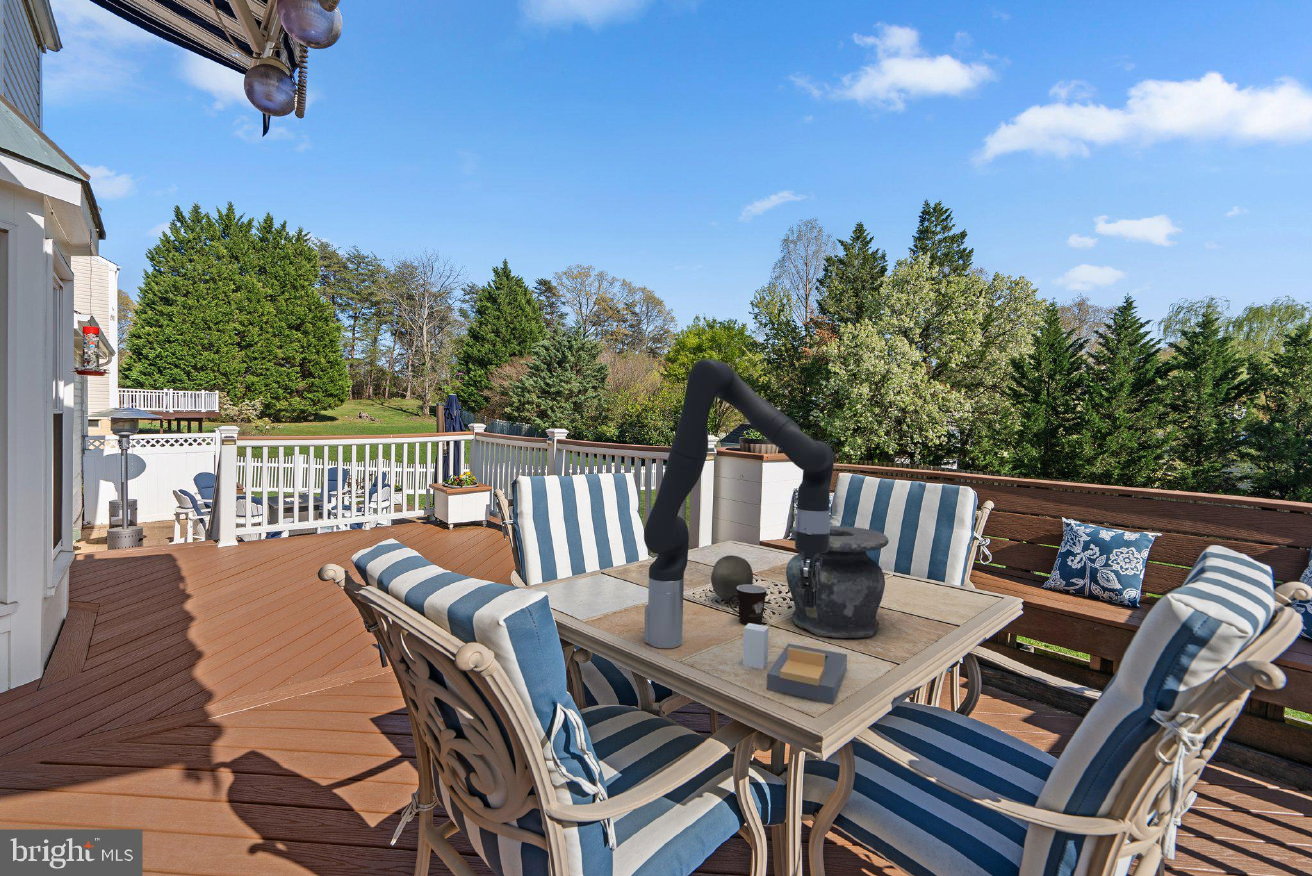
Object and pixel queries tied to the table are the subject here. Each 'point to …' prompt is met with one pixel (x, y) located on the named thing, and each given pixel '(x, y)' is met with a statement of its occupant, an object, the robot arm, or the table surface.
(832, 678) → the socket plate
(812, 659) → the tan l-shaped block
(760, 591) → the coffee mug
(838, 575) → the clay pot
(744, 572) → the grey stone ball
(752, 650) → the plug
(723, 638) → the table surface
